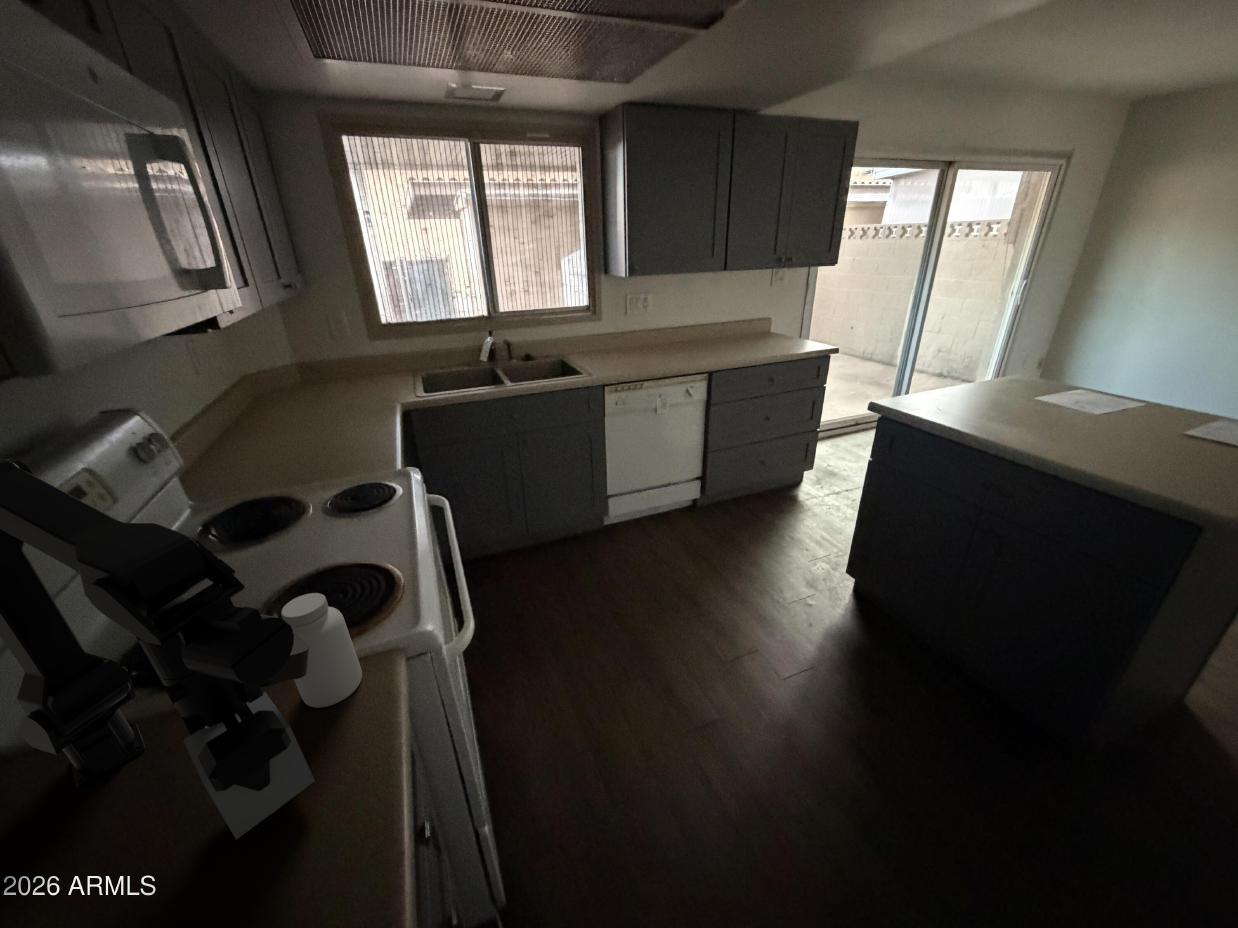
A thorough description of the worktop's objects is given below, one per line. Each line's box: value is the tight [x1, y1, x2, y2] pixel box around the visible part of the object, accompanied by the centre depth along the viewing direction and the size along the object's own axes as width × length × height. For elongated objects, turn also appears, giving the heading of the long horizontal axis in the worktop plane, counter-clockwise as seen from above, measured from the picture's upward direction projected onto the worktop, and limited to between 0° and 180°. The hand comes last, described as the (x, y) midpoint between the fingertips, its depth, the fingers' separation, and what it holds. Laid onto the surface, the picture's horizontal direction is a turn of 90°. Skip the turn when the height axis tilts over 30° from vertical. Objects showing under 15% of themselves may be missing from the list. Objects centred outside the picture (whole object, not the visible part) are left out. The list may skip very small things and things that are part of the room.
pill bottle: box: [280, 592, 363, 709], centre depth 70 cm, size 8×8×15 cm
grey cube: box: [182, 691, 316, 840], centre depth 54 cm, size 8×8×9 cm
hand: (251, 764), depth 55 cm, fingers closed on grey cube, 8 cm apart
